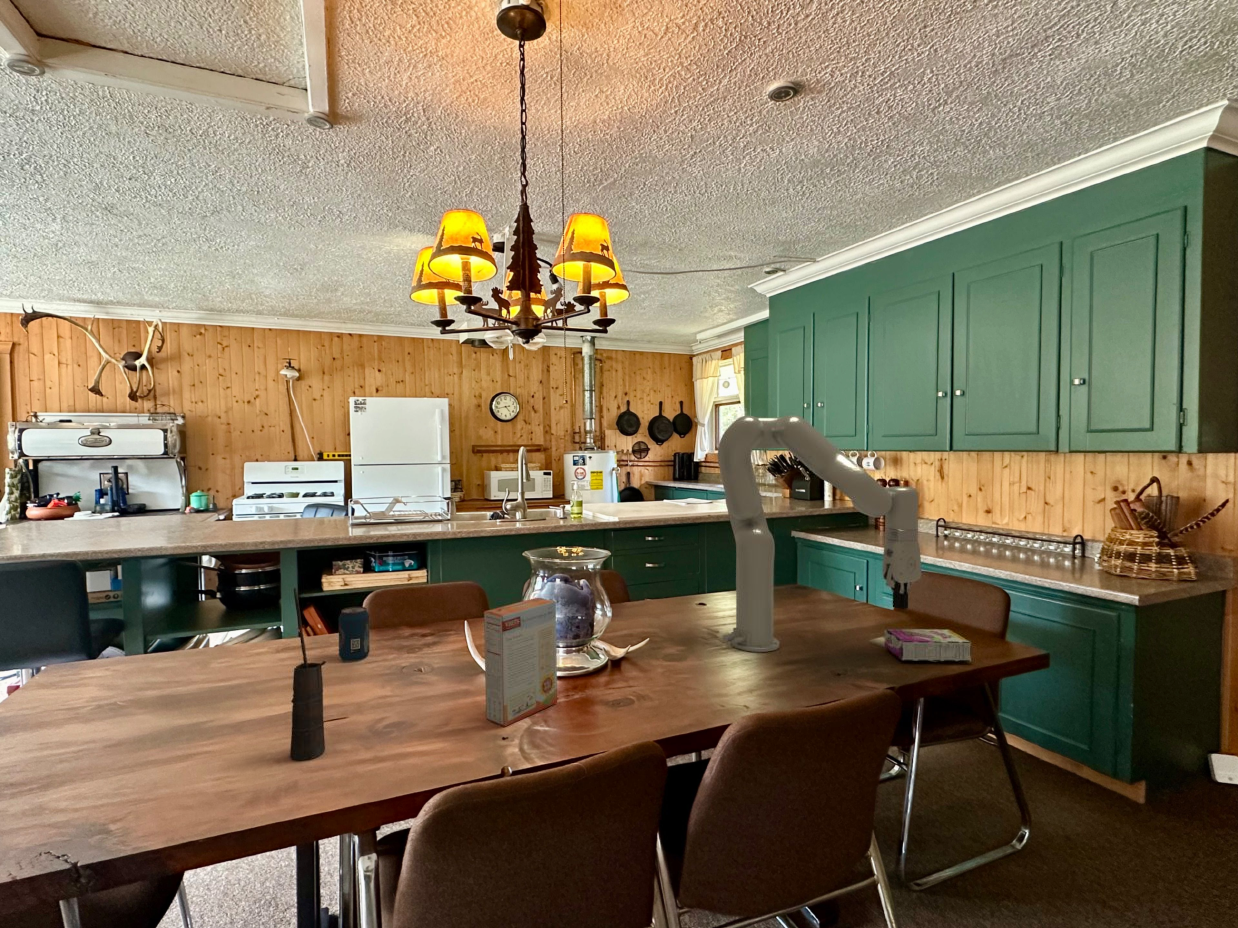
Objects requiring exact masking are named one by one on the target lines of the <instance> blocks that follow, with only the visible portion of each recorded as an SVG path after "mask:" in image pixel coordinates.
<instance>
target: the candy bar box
mask: <svg viewBox="0 0 1238 928" xmlns="http://www.w3.org/2000/svg"><path fill="white" fill-rule="evenodd" d="M884 636H885V647H886V649H887V650H888V651H890V652H891V654H893V655H894V656H896V657H897V658H898V659H900V660H901V661H904V662H905V661H906V662H907V661H910V662H911V661H912V662H913V661H914V662H919V661H920V662H921V661H922V662H923V661H924V662H933V661H937V662H972V642H971V641H970V640H968V639H967V638H964V637H962V636H961V635H959V634H958V633H956V632H954V631H953V630H950V629H936V628H933V629H932V628H930V629H925V628H924V629H922V628H921V629H918V628H917V629H911V628H909V629H906V628H905V629H904V628H902V629H900V628H899V629H898V628H895V629H894V628H885V629H884ZM885 647H884V648H885Z"/></svg>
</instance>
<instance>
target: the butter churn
mask: <svg viewBox="0 0 1238 928" xmlns="http://www.w3.org/2000/svg"><path fill="white" fill-rule="evenodd" d="M293 596H294V597H293V598H294V603H295V604H294V605H295V611H296V618H297V625H298V631H299V638H300V644H301V645H300V647H301V652H302V659H303V663H300V664H298V665H296V667H294V669H293V677H292V679H293V682H292V683H293V684H292V691H293V694H292V699H291V701H290V703H292V708H291V709H292V710H291V711H292V712H291V737H290V751H289V752H290V753H289V756H290V759H291V758H292V759H291V760H293V759H294V760H293V761H305V760H308V759H309V760H311V759H316V758H318V757H319V756H321V755H322V754H324V753H325V750H326V746H325V745H326V744H325V743H326V741H325V726H324V725H325V722H324V685H323V684H324V683H323V680H324V679H323V672H322V671H323V669H322V666H324V665H326V663H327V661H326V660H323V661H321V662H319V663H318V662H308V658H307V653H306V650H307V649H306V644H305V639H304V638H305V637H304V631H303V625H302V617H301V616H302V615H301V609H300V604H299V603H300V602H299V597H298V591H297V588H296V587H294V588H293Z"/></svg>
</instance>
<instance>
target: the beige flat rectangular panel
mask: <svg viewBox="0 0 1238 928" xmlns="http://www.w3.org/2000/svg"><path fill="white" fill-rule="evenodd" d="M868 643H869V644H873V645H875V646H879V647H881V648H882V647H883V648H886V647H885V635H883V636H881V637H880V636H879V637H875V638H873V639H870V640H868ZM886 649H887V648H886ZM932 662H934V663H937V662H938V661H932Z"/></svg>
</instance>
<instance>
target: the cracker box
mask: <svg viewBox="0 0 1238 928" xmlns="http://www.w3.org/2000/svg"><path fill="white" fill-rule="evenodd" d="M556 609H557V604H556V600H555V601H554V600H551V599H546V598H543V597H534V598H530V599H527V600H523V601H519V602H515V603H512V604H508V605H504V606H500V607H496V608H492V609H489V610H485V611H483V619H484V620H483V625H484V626H483V627H484V631H483V632H484V638H483V639H484V674H485V675H484V678H485V685H484V686H485V716H486V717H485V719H486V720H488V721H490V722H493V723H495V724H497V725H500V726H503V727H507V726H510V725H512V724H514V723H516V722H518V721H520V720H522V719H524V718H525V719H526V718H527V717H529V716H531V715H533V714H536V713H538V712H539V711H541V710H544V709H546V708H548V707H551V706H553V705H555V704H557V703H558V675H557V674H558V670H557V669H558V667H557V664H558V663H557V655H558V654H557V610H556Z"/></svg>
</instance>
